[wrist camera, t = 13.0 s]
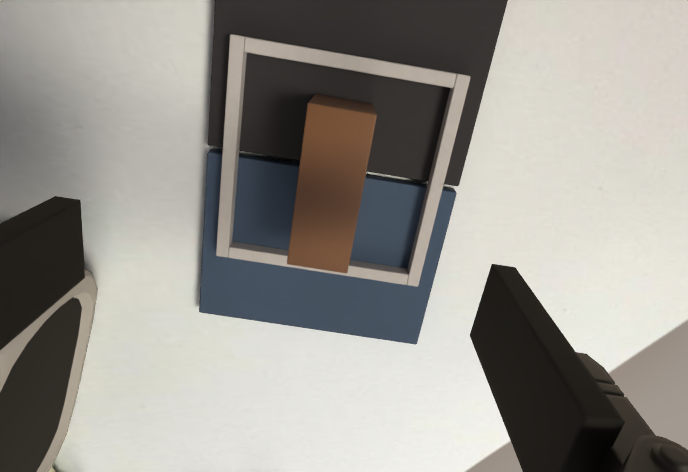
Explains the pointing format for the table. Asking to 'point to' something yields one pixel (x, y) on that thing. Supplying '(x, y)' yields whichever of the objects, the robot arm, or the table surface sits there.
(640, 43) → the table surface
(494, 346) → the robot arm
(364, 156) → the brown rectangular block
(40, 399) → the alarm clock
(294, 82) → the back pads
